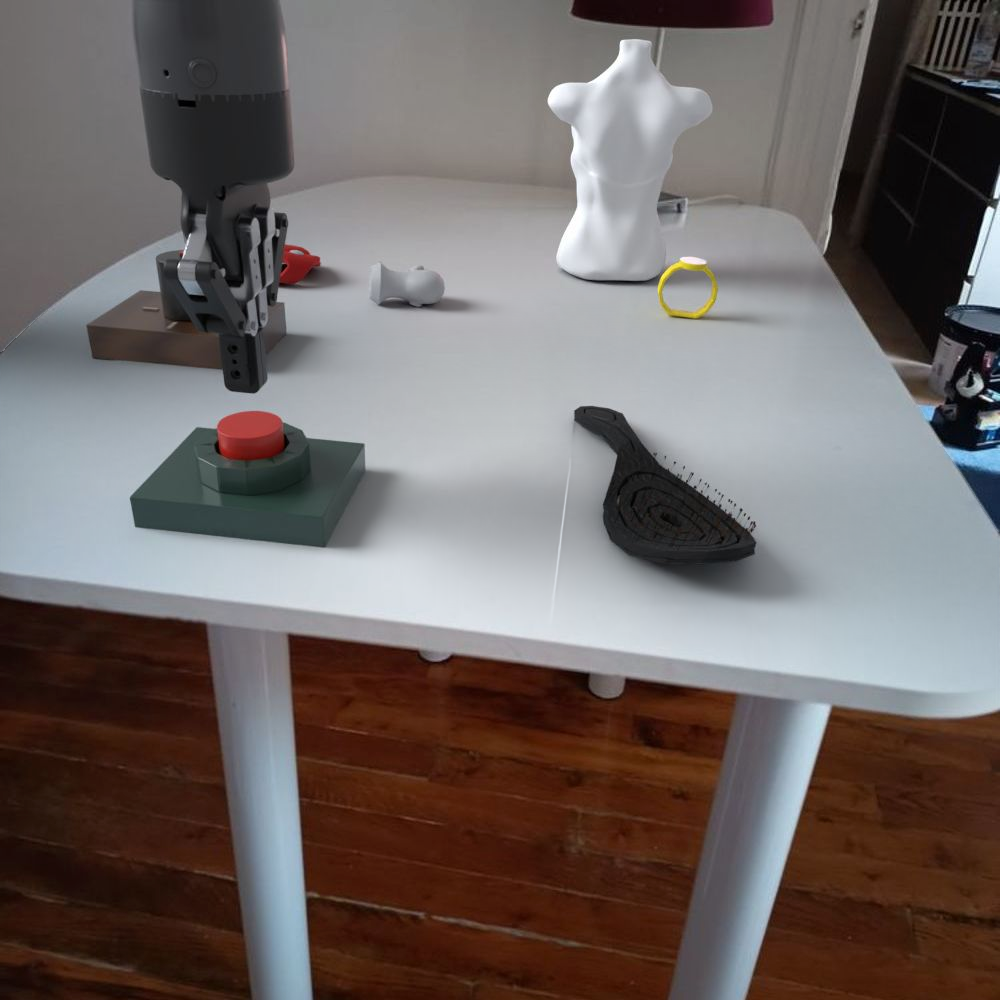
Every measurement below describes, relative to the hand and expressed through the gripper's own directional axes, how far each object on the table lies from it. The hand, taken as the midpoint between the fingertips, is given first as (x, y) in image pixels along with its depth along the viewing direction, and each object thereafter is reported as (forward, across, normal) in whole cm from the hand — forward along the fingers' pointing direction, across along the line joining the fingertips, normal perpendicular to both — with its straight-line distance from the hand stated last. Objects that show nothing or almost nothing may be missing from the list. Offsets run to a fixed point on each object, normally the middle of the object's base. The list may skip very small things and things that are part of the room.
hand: (246, 387), depth 56 cm
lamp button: (+4, 0, 0) cm, 4 cm away
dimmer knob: (+5, -25, -15) cm, 30 cm away
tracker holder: (+8, -48, -16) cm, 51 cm away
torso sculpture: (+8, -59, +22) cm, 63 cm away
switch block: (+8, 0, 0) cm, 8 cm away
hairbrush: (+8, -6, +25) cm, 27 cm away
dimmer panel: (+8, -25, -15) cm, 30 cm away
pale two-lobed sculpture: (+8, -42, +1) cm, 43 cm away
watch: (+8, -45, +30) cm, 55 cm away
